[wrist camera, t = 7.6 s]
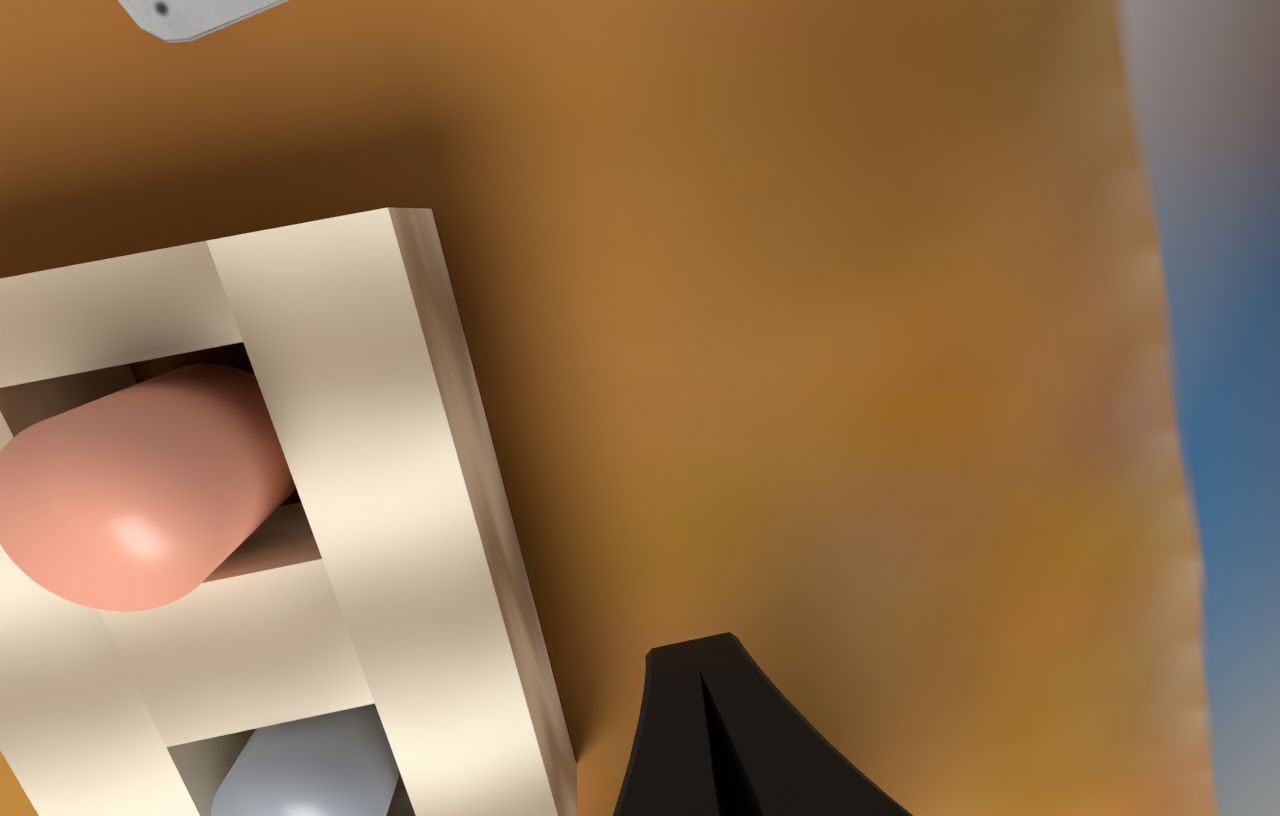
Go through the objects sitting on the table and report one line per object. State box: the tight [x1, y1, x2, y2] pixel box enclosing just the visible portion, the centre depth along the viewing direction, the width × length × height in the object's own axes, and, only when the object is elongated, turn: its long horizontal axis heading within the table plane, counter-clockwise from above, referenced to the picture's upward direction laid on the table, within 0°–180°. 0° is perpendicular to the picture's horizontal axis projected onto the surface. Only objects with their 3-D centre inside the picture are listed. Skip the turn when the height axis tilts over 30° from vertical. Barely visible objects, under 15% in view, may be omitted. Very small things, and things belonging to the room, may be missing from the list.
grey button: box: [211, 703, 400, 816], centre depth 18 cm, size 4×4×4 cm
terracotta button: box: [0, 364, 296, 612], centre depth 14 cm, size 4×4×4 cm
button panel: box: [0, 207, 577, 816], centre depth 17 cm, size 18×12×4 cm, turn 10°
